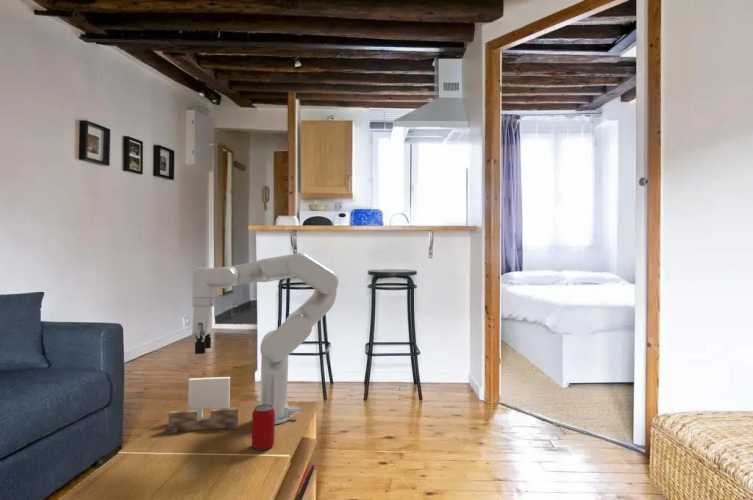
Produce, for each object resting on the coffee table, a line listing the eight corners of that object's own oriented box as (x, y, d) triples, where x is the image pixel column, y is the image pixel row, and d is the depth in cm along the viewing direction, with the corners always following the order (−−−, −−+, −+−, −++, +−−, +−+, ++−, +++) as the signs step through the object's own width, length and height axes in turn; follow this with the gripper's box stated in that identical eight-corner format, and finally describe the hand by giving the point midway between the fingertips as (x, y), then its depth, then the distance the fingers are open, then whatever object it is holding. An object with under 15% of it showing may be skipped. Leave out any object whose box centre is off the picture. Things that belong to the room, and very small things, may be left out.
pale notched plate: (188, 417, 160) (189, 378, 161) (229, 414, 164) (230, 376, 164) (187, 419, 159) (188, 379, 159) (228, 416, 162) (229, 378, 162)
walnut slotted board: (238, 422, 156) (238, 405, 156) (236, 429, 150) (237, 411, 150) (171, 427, 151) (171, 409, 151) (166, 433, 145) (167, 415, 145)
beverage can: (268, 440, 141) (268, 402, 141) (278, 447, 136) (278, 407, 136) (247, 445, 137) (248, 406, 137) (257, 453, 131) (258, 412, 132)
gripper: (198, 300, 164) (197, 346, 164) (186, 304, 147) (185, 356, 147) (219, 300, 166) (218, 345, 165) (209, 304, 149) (209, 355, 148)
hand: (203, 350), depth 156 cm, fingers open, 9 cm apart
